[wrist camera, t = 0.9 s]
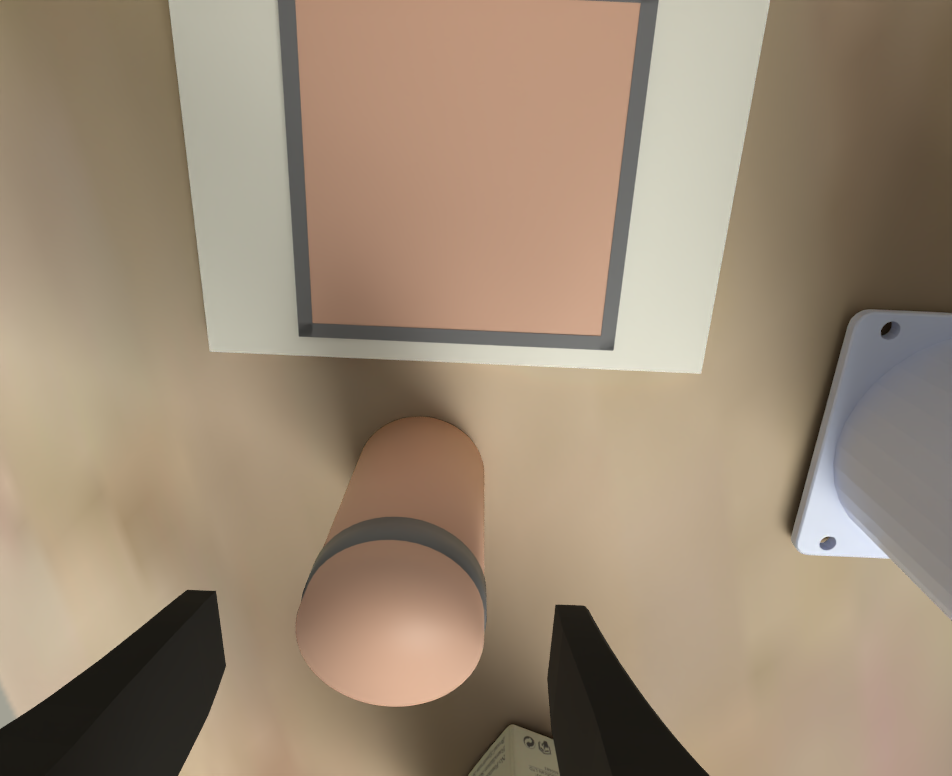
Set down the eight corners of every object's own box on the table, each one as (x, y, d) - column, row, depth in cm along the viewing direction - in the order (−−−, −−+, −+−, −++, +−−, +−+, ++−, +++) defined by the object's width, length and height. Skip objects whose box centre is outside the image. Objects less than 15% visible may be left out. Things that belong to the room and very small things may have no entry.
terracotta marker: (489, 417, 19) (491, 559, 12) (482, 531, 20) (482, 712, 14) (354, 412, 19) (286, 551, 12) (358, 526, 20) (298, 704, 14)
